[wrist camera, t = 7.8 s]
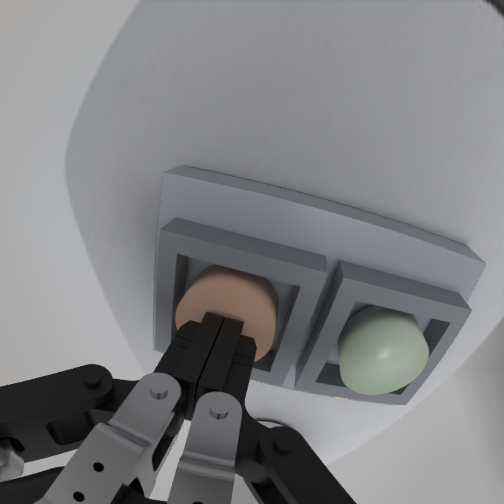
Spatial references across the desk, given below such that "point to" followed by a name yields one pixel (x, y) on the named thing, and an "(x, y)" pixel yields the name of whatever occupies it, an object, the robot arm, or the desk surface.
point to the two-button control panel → (308, 273)
